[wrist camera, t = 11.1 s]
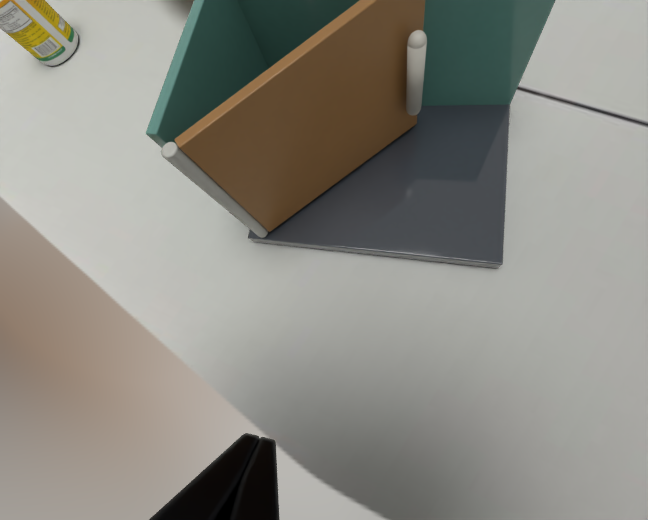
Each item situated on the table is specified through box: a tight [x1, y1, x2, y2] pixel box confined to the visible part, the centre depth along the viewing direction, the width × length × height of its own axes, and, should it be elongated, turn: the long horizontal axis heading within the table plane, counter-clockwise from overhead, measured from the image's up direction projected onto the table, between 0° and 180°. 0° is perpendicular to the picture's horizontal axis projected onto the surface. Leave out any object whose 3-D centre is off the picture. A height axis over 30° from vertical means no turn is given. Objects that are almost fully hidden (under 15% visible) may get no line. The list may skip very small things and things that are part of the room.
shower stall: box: [146, 0, 555, 268], centre depth 18 cm, size 12×17×12 cm
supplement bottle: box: [0, 0, 78, 66], centre depth 33 cm, size 5×5×10 cm
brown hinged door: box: [161, 0, 427, 238], centre depth 18 cm, size 2×14×10 cm, turn 124°
